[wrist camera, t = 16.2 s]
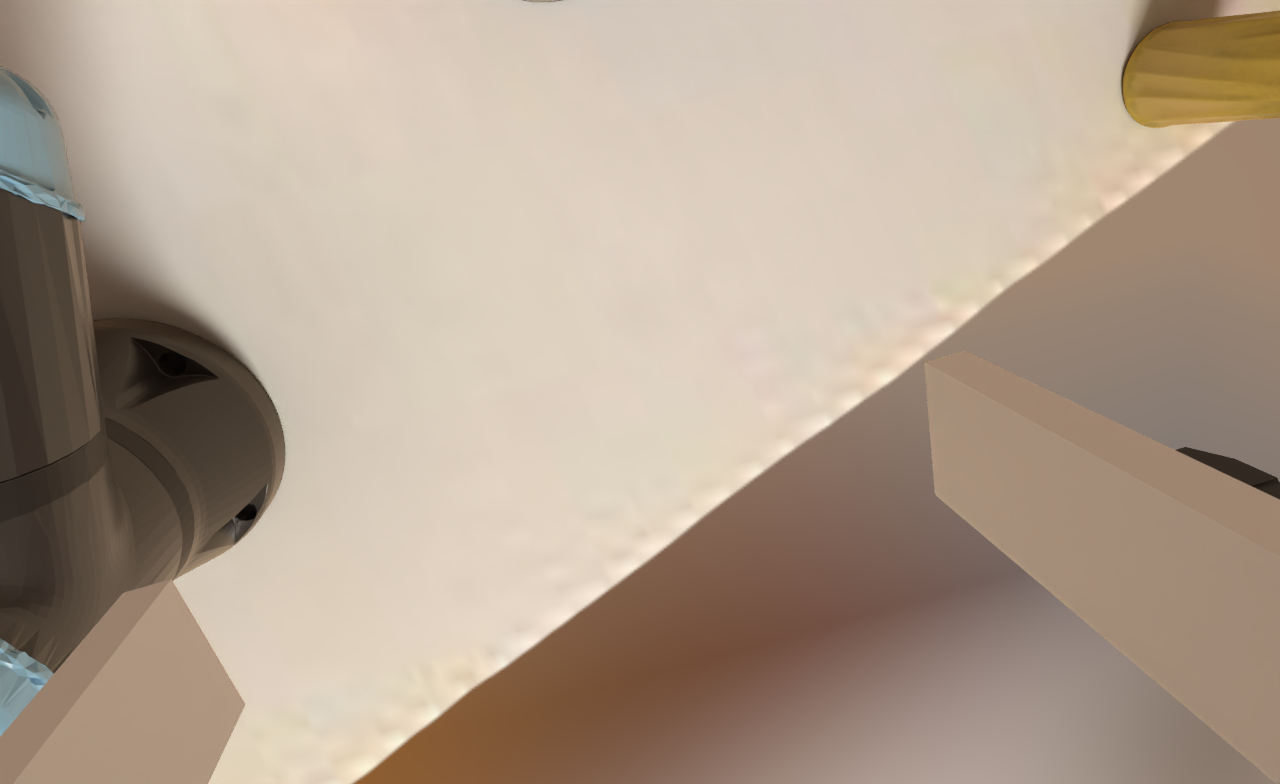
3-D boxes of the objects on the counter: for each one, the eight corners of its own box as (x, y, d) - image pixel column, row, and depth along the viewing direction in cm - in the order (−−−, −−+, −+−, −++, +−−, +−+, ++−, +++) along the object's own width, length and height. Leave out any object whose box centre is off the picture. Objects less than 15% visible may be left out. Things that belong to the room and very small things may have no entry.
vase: (1183, -2, 43) (1483, -64, 29) (1222, 78, 45) (1518, 53, 32) (1103, 73, 43) (1361, 45, 30) (1146, 148, 46) (1403, 153, 32)
